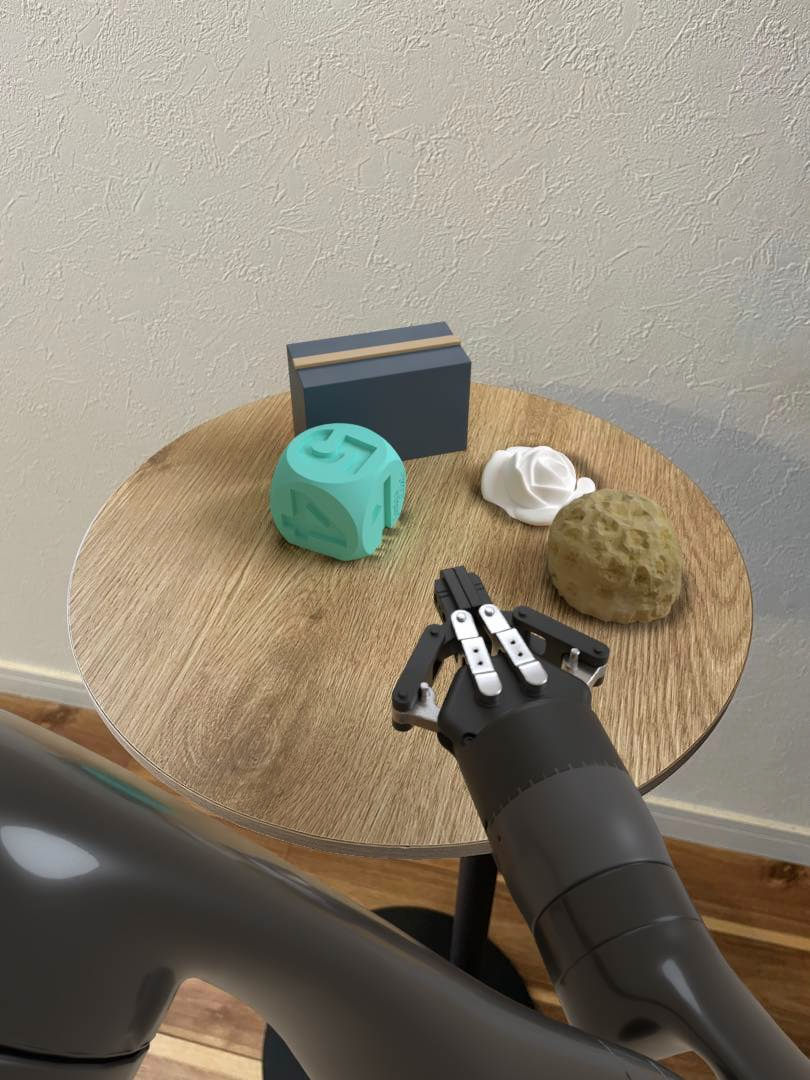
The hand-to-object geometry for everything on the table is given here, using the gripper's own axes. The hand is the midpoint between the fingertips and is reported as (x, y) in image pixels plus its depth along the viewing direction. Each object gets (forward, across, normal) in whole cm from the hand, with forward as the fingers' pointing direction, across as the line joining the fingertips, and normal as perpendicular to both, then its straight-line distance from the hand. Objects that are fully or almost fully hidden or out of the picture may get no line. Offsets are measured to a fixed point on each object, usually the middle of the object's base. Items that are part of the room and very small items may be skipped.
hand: (450, 577), depth 59 cm
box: (+28, -3, +11) cm, 30 cm away
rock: (+6, -15, +11) cm, 20 cm away
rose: (+18, -14, +11) cm, 25 cm away
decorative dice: (+18, +3, +11) cm, 22 cm away
